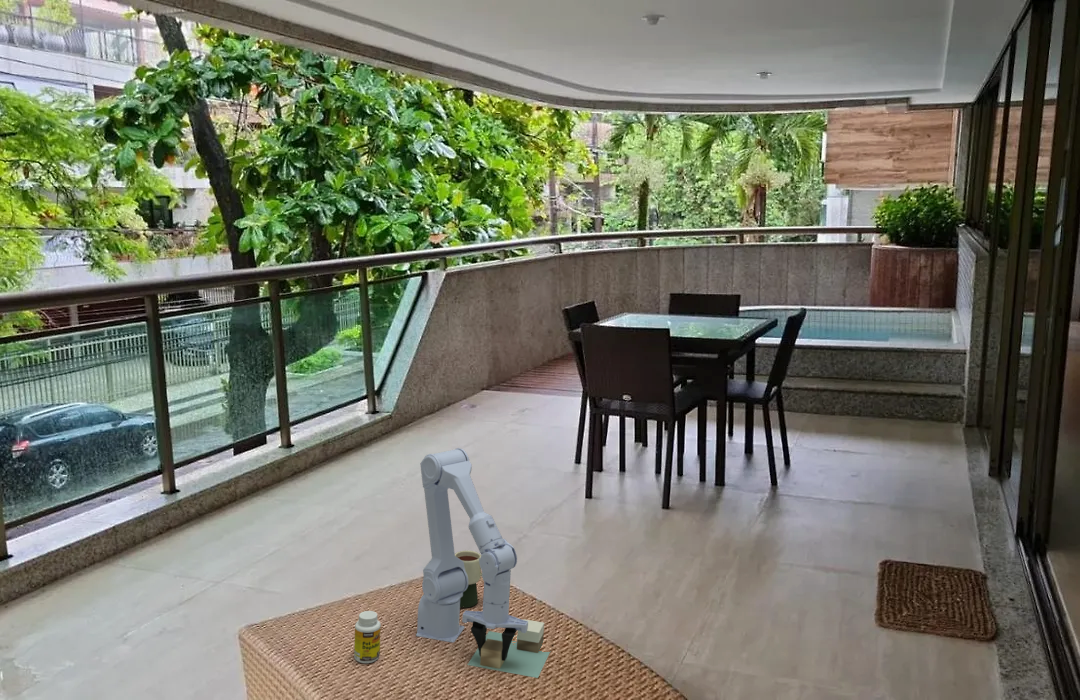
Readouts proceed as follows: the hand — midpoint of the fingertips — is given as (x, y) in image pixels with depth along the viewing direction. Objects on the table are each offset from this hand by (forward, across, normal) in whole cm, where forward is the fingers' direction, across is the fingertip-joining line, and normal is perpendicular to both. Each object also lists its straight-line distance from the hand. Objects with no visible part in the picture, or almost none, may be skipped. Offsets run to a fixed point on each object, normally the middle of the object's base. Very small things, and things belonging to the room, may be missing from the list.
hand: (493, 656), depth 187 cm
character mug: (+2, -15, +25) cm, 29 cm away
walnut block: (+1, +6, +10) cm, 11 cm away
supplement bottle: (+2, -27, -7) cm, 28 cm away
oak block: (+1, 0, 0) cm, 1 cm away
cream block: (-1, +6, +10) cm, 11 cm away
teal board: (+2, +3, +5) cm, 6 cm away
